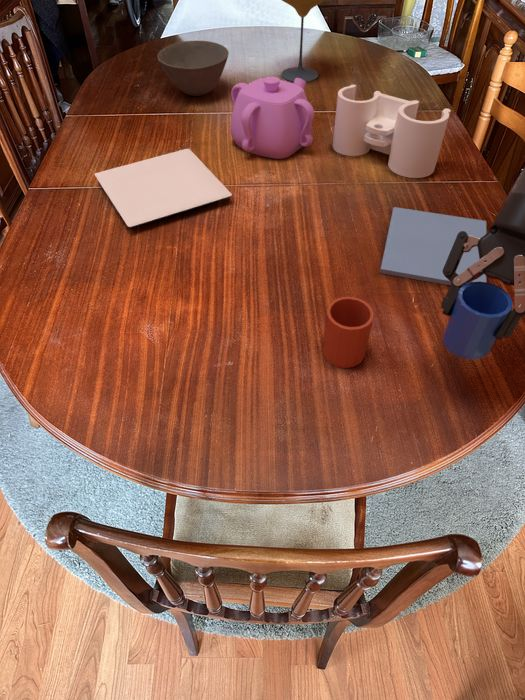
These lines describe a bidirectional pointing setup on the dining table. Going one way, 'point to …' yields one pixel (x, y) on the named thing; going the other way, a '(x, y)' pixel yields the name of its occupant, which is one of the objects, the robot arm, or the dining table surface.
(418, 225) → the blue mat
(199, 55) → the bowl
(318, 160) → the dining table surface
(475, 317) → the blue cup
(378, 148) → the bracket
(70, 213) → the dining table surface
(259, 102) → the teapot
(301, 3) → the cocktail glass
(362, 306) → the terracotta cup
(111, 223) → the dining table surface
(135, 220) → the plate
